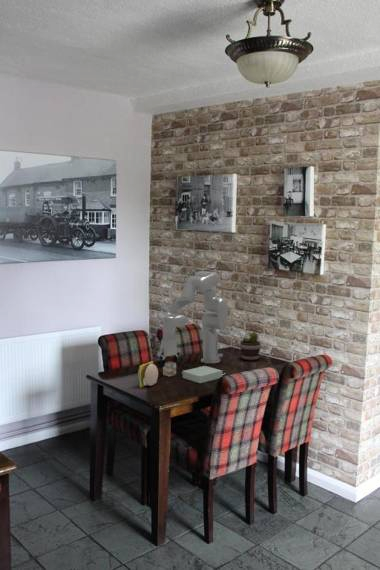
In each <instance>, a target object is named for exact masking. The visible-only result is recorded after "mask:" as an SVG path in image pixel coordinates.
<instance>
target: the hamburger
mask: <svg viewBox="0 0 380 570" xmlns="http://www.w3.org/2000/svg"><path fill="white" fill-rule="evenodd" d="M138 367H139V368H138V372H137V373H138V375H137V378H138V383H139V388H143V387H145V386H149V387H151V386H154V385H155V384H157V381H158V378H159V370H158V367H157V365H155V363H154V361H153V360H152V361H149V362H147V363H142V364H141V365H139V366H138Z"/></svg>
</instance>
